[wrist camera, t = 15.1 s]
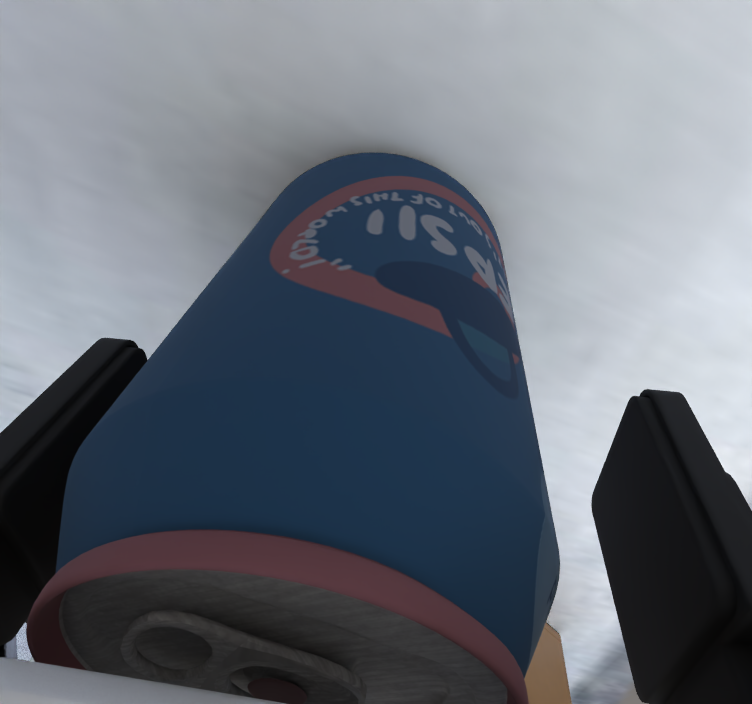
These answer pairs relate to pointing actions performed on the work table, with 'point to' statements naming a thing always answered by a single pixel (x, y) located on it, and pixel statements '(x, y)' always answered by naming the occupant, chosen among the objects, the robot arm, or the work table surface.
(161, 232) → the work table surface
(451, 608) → the soda can
